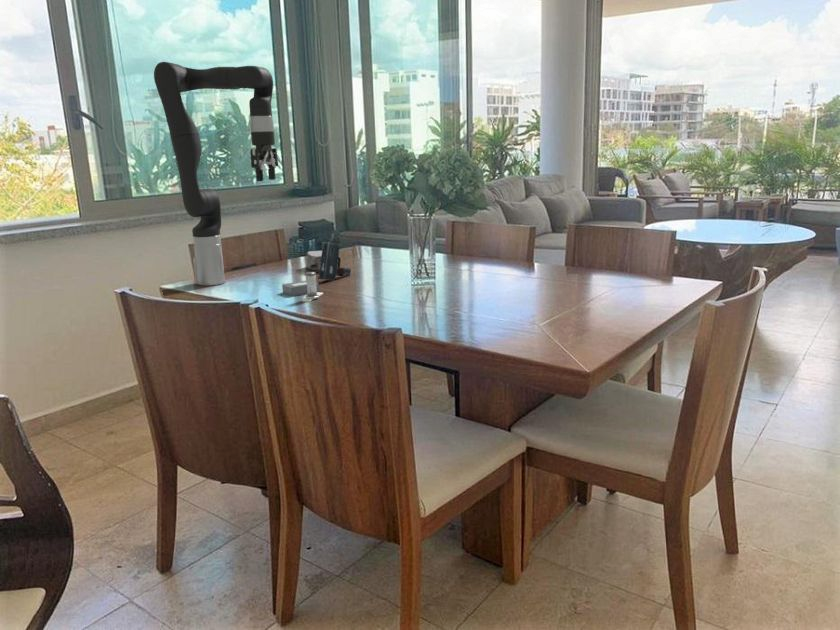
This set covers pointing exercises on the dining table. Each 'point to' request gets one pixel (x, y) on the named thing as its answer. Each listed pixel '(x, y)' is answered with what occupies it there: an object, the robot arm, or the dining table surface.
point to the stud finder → (296, 288)
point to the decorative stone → (314, 260)
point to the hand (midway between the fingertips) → (266, 180)
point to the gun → (331, 261)
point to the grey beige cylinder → (311, 285)
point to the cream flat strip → (311, 299)
